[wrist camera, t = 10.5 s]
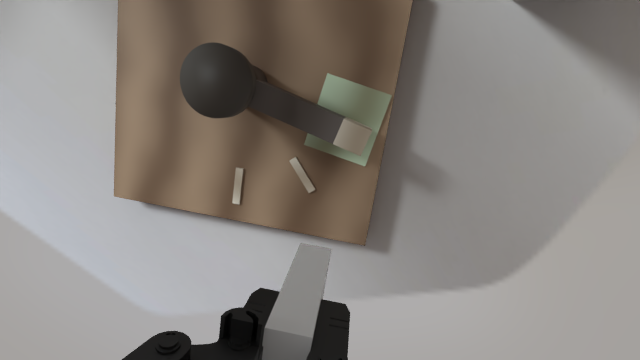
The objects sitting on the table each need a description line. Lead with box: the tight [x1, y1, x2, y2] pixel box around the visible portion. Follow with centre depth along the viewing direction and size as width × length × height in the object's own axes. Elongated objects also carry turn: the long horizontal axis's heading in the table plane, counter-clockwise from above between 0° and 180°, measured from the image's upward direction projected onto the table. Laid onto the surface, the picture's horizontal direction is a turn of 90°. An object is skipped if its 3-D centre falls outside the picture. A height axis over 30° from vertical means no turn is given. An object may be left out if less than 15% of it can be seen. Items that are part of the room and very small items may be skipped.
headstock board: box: [114, 0, 413, 246], centre depth 29 cm, size 22×20×2 cm
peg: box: [180, 42, 372, 156], centre depth 24 cm, size 12×4×6 cm, turn 67°
